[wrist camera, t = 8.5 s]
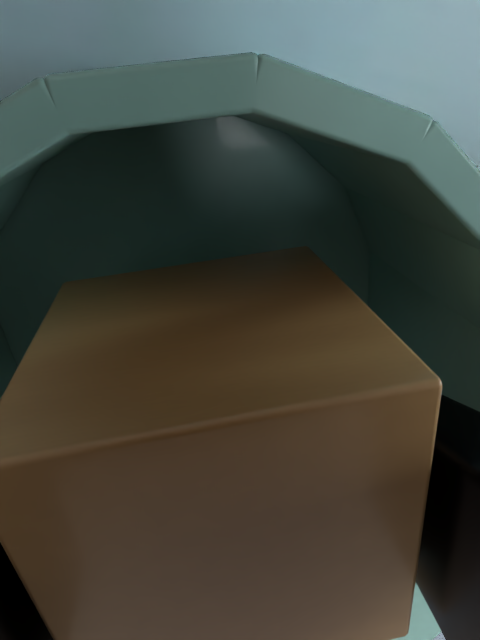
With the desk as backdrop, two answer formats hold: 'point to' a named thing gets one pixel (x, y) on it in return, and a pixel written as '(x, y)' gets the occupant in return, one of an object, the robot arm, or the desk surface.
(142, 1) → the desk surface
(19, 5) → the desk surface
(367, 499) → the block
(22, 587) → the robot arm
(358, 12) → the desk surface
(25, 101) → the tin
